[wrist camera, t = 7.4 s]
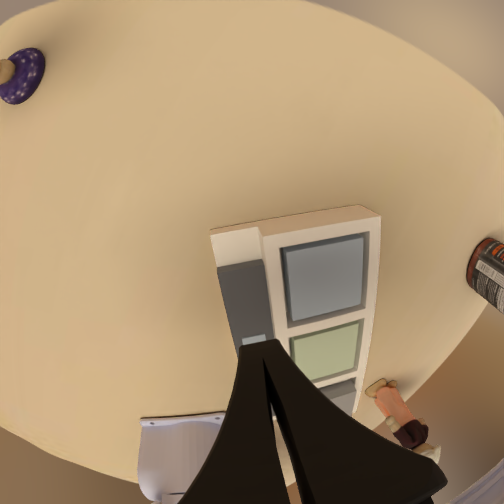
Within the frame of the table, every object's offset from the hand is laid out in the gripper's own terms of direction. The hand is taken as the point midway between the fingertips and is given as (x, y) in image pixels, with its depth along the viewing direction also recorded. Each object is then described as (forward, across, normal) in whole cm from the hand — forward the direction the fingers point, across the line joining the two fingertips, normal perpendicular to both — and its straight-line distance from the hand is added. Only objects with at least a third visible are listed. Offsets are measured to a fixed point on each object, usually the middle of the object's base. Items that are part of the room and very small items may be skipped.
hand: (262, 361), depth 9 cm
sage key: (+8, -5, +8) cm, 12 cm away
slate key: (+8, -5, +1) cm, 10 cm away
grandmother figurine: (+10, -14, +20) cm, 26 cm away
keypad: (+9, -4, +8) cm, 13 cm away
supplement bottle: (+10, -25, +6) cm, 27 cm away
